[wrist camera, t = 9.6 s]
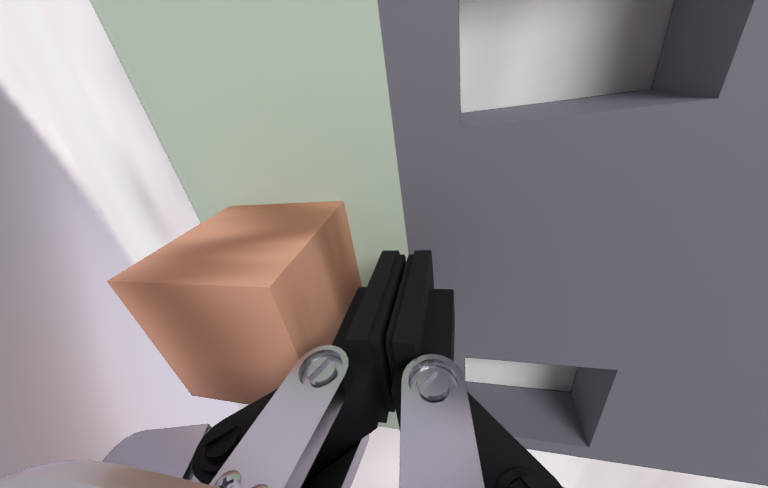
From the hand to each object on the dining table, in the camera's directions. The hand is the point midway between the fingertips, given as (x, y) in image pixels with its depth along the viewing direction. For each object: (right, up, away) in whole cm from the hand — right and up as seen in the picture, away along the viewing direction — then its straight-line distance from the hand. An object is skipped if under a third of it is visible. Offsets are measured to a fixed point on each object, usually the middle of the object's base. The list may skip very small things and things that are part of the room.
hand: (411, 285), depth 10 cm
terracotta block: (-5, +1, +2) cm, 5 cm away
